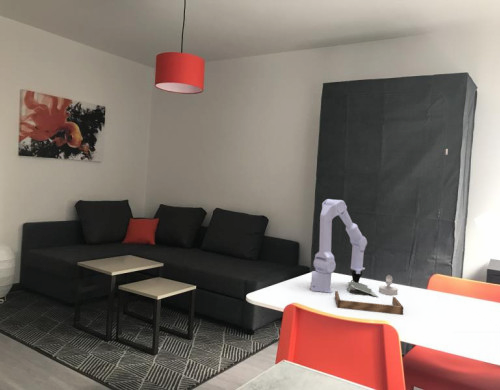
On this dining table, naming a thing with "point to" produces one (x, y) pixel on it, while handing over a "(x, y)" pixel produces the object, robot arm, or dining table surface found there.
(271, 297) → the dining table surface
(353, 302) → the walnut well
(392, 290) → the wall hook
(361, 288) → the metal bracket
